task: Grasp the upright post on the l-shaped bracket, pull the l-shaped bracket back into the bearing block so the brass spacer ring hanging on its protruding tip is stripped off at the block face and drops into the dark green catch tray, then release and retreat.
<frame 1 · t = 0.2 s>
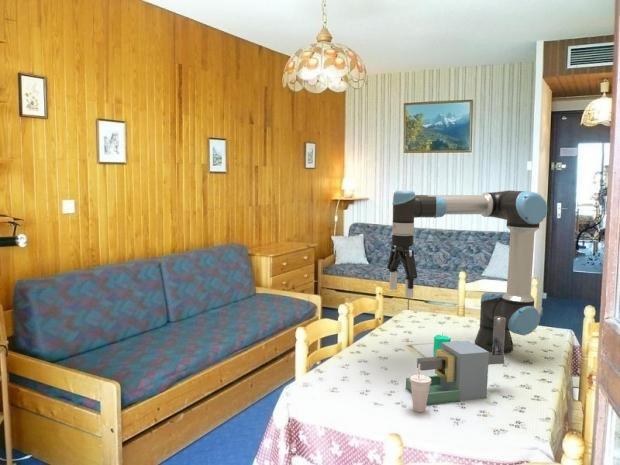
hand: (400, 293, 196), 28 cm above the table, fingers open, 13 cm apart
spacer: (444, 365, 176), point 9 cm above the table, touching l-shaped bracket
smoothie: (419, 410, 164), on the table
bearing block: (462, 391, 178), on the table
l-shaped bracket: (462, 342, 176), point 16 cm above the table, slide at 0.0 cm, touching spacer
tray: (432, 394, 175), on the table
candle: (441, 364, 204), on the table
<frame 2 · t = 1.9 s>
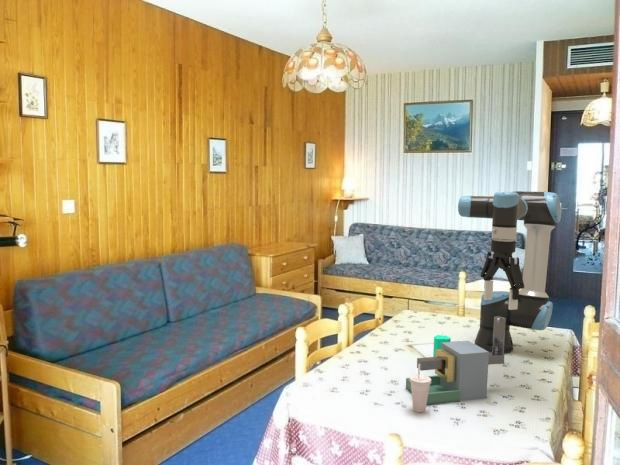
hand: (500, 304, 179), 28 cm above the table, fingers open, 13 cm apart
nothing on the table moved.
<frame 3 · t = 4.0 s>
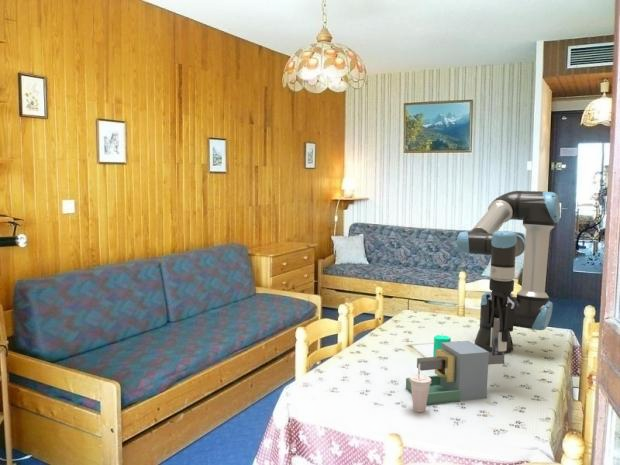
hand: (498, 348, 180), 14 cm above the table, fingers closed on l-shaped bracket, 4 cm apart
l-shaped bracket: (462, 342, 176), point 16 cm above the table, slide at 0.0 cm, touching gripper, spacer
everything else where it was.
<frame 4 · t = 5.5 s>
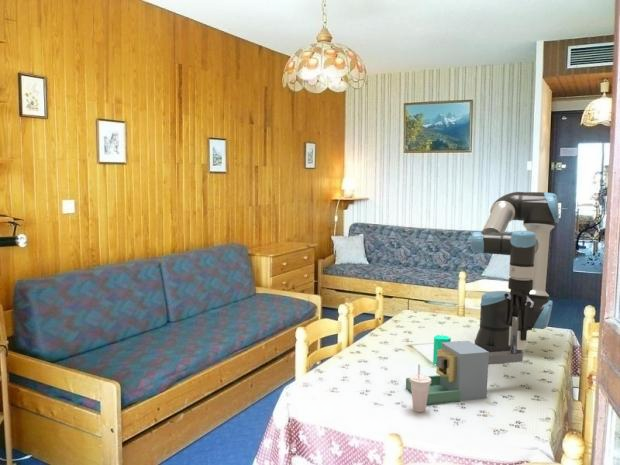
hand: (516, 347, 182), 14 cm above the table, fingers closed on l-shaped bracket, 4 cm apart
l-shaped bracket: (481, 341, 178), point 16 cm above the table, slide at 7.0 cm, touching gripper, spacer
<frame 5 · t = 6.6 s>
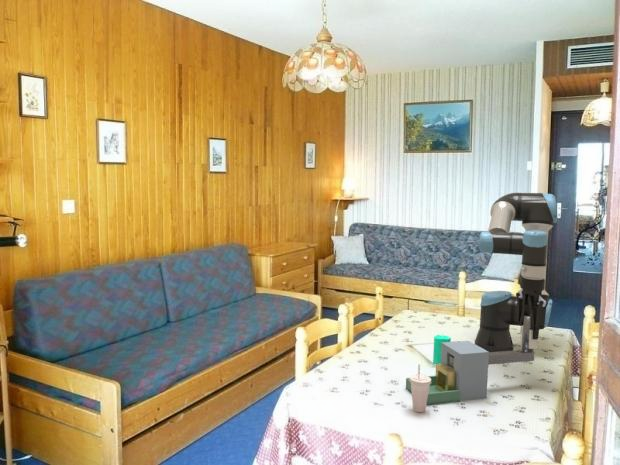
hand: (528, 346, 183), 14 cm above the table, fingers closed on l-shaped bracket, 4 cm apart
spacer: (445, 379, 176), point 5 cm above the table, touching tray
l-shaped bracket: (493, 340, 179), point 16 cm above the table, slide at 11.5 cm, touching gripper
everything else where it was.
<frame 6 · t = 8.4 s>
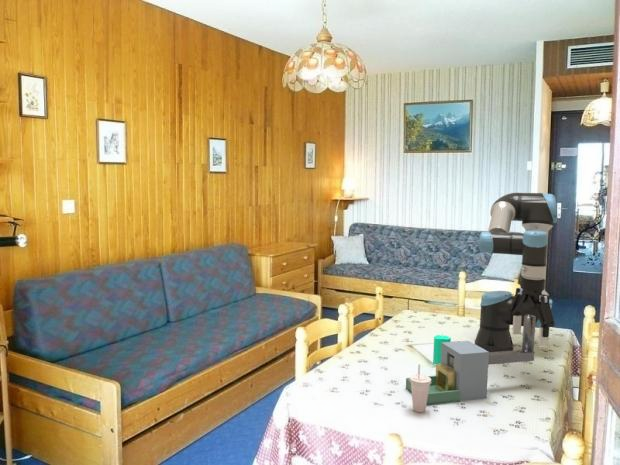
hand: (529, 340, 183), 16 cm above the table, fingers open, 13 cm apart
l-shaped bracket: (493, 340, 179), point 16 cm above the table, slide at 11.5 cm
everything else where it was.
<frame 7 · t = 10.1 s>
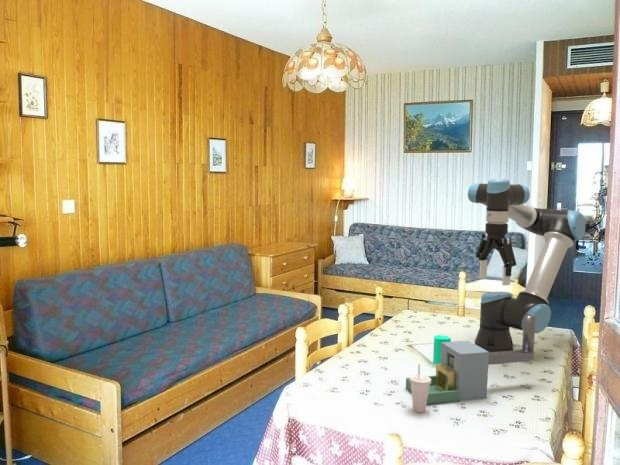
hand: (494, 281, 197), 32 cm above the table, fingers open, 13 cm apart
nothing on the table moved.
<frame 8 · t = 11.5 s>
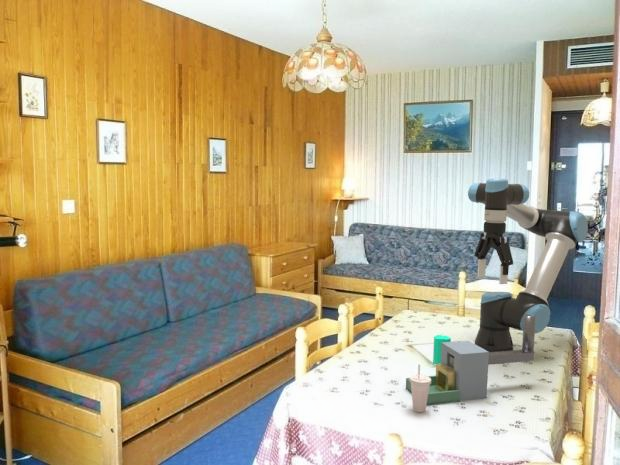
hand: (491, 280, 198), 33 cm above the table, fingers open, 13 cm apart
nothing on the table moved.
at the end: l-shaped bracket slide at 11.5 cm; spacer point 4.6 cm above the table; spacer touching tray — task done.
